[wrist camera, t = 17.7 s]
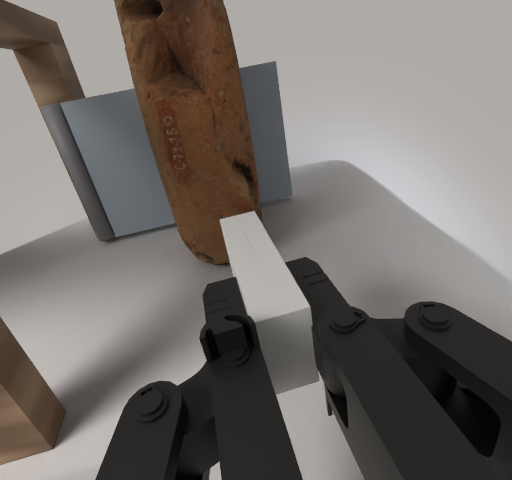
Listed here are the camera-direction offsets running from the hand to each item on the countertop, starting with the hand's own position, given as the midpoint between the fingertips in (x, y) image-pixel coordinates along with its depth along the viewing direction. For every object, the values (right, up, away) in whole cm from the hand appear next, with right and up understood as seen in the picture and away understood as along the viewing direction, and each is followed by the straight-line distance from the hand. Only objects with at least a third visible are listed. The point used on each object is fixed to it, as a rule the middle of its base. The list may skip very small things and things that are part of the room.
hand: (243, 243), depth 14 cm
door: (-6, +3, +22) cm, 23 cm away
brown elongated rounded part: (-2, 0, +17) cm, 17 cm away
